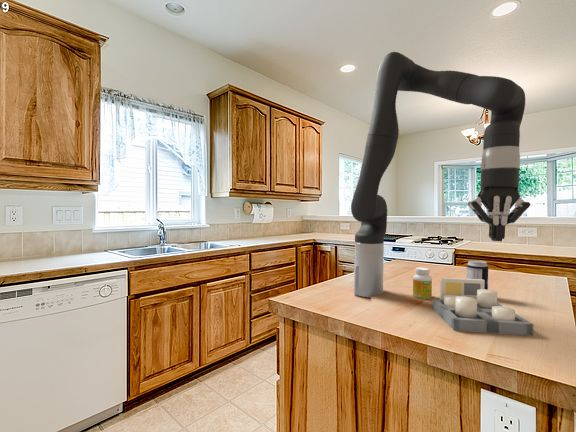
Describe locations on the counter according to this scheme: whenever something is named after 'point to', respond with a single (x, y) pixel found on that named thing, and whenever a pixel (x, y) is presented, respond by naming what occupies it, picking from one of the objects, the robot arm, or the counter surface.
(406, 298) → the counter surface
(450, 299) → the button back left
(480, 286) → the button board
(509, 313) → the button front right
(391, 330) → the counter surface
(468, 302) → the button front left
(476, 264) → the beverage can
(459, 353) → the counter surface
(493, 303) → the button back right
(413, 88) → the robot arm
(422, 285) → the supplement bottle
